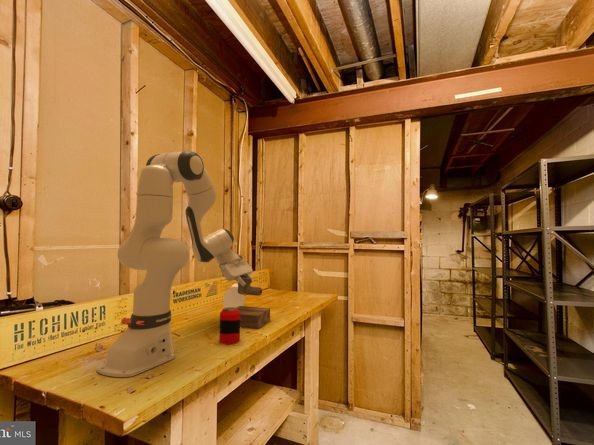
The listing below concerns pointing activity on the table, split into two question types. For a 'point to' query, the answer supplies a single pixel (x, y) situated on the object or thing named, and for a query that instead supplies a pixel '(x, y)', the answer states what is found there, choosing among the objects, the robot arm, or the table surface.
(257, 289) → the pipe
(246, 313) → the walnut block
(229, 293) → the corner bracket
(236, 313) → the soda can
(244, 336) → the table surface
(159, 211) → the robot arm
